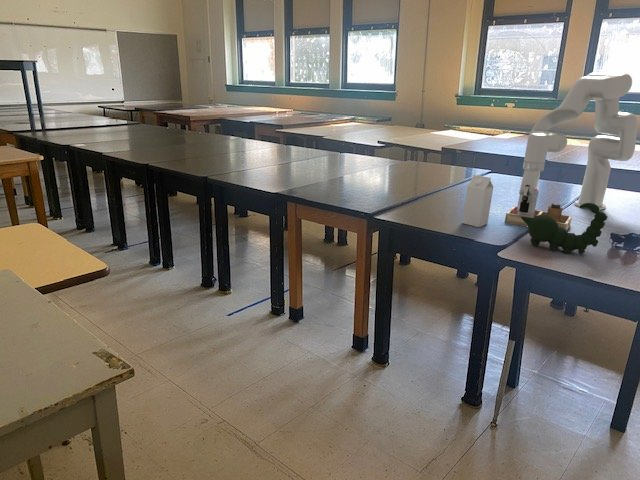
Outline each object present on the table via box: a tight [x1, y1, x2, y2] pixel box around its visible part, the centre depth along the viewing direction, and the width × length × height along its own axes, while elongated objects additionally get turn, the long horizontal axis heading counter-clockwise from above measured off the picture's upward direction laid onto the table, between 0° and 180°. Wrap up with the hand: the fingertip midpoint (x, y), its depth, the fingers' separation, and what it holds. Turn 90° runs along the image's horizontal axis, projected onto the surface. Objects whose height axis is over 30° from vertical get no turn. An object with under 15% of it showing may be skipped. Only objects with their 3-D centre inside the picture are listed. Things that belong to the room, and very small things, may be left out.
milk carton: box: [461, 173, 494, 228], centre depth 185 cm, size 7×7×19 cm
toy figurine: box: [521, 203, 608, 255], centre depth 162 cm, size 9×19×25 cm
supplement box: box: [516, 188, 540, 217], centre depth 191 cm, size 6×6×12 cm
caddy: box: [504, 202, 573, 231], centre depth 189 cm, size 13×22×9 cm, turn 56°
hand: (525, 209), depth 192 cm, fingers closed on supplement box, 7 cm apart
